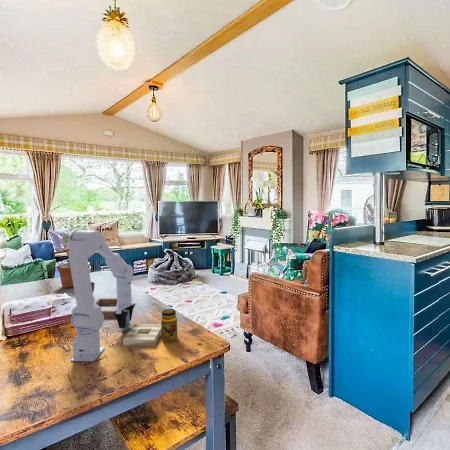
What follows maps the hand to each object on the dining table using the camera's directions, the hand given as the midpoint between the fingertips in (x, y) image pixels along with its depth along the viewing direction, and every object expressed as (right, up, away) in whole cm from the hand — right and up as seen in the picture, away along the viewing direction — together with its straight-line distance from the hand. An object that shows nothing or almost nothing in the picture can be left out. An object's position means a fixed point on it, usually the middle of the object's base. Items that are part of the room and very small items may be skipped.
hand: (125, 324), depth 130 cm
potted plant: (-55, +3, +67) cm, 86 cm away
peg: (0, -2, 0) cm, 2 cm away
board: (+10, -3, -7) cm, 12 cm away
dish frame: (-15, -1, +23) cm, 27 cm away
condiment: (+19, -4, -8) cm, 22 cm away
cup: (-35, +1, +43) cm, 55 cm away
